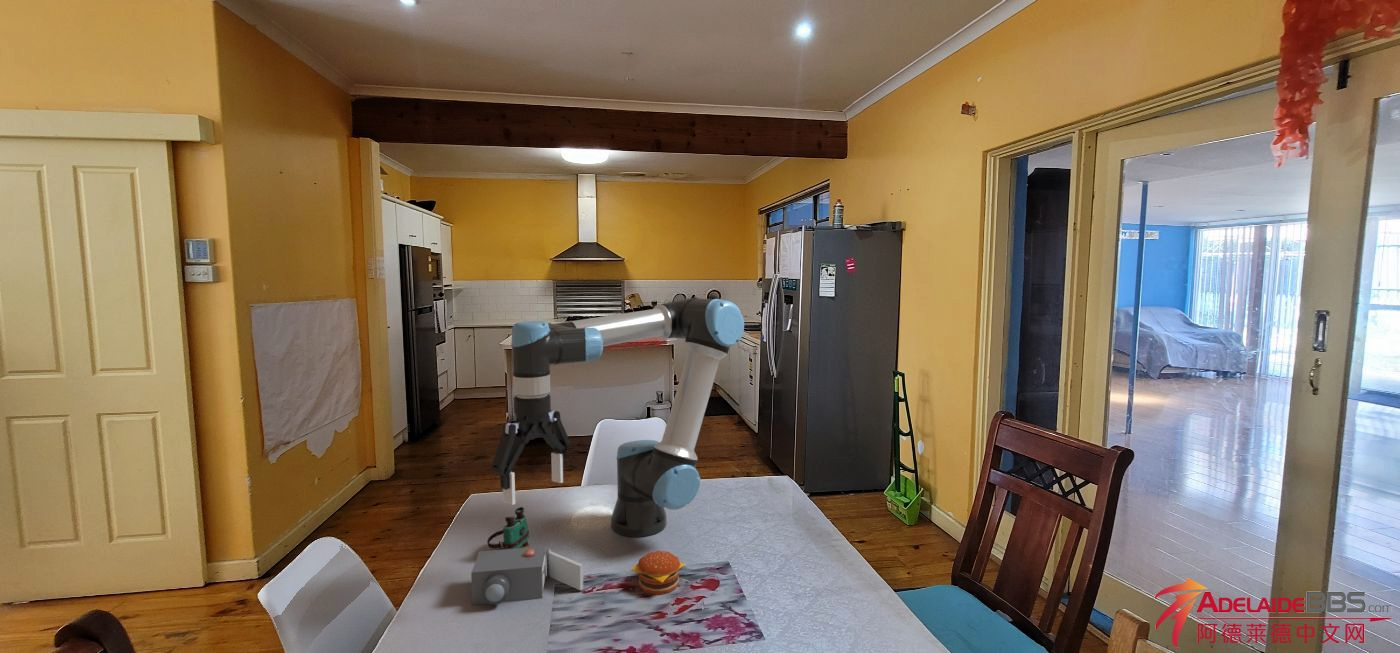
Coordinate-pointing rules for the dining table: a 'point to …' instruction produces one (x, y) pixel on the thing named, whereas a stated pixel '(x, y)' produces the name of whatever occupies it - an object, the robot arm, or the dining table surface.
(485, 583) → the camera body
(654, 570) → the hamburger
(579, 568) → the side door
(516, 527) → the binoculars
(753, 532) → the dining table surface
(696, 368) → the robot arm
